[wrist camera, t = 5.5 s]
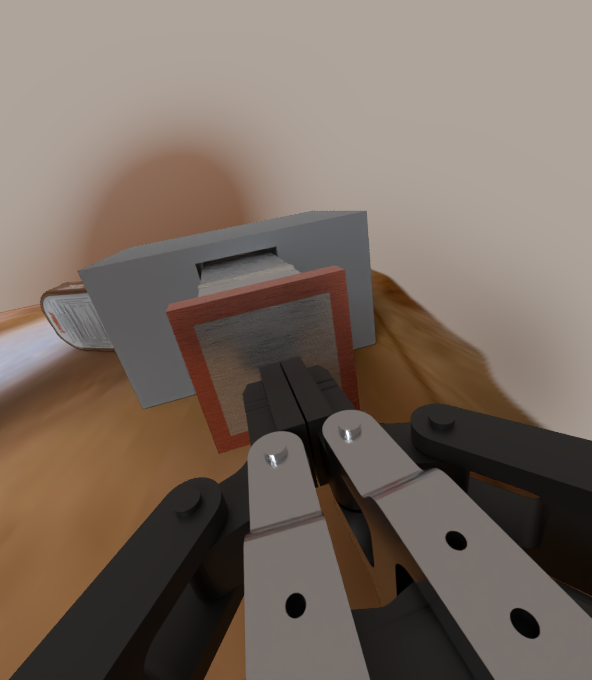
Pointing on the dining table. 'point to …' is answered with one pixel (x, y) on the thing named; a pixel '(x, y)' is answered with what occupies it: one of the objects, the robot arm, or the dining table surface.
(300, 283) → the plug
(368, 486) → the robot arm
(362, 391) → the dining table surface
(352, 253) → the socket block
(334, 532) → the dining table surface
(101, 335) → the tin
